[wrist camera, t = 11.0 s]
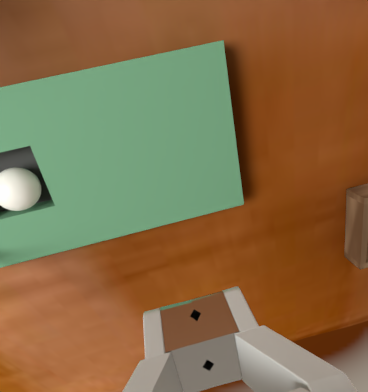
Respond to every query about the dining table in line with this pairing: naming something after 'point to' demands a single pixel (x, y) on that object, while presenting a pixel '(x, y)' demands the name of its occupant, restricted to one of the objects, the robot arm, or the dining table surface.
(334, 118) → the dining table surface
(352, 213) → the wooden rectangular frame
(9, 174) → the ball
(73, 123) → the putting strip
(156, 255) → the dining table surface
